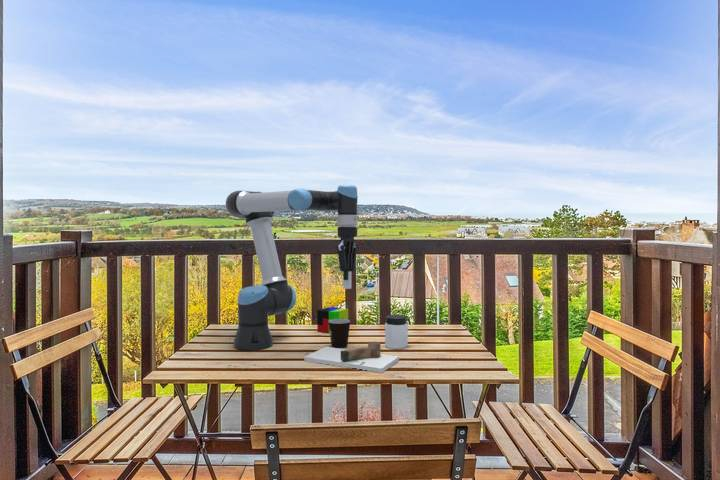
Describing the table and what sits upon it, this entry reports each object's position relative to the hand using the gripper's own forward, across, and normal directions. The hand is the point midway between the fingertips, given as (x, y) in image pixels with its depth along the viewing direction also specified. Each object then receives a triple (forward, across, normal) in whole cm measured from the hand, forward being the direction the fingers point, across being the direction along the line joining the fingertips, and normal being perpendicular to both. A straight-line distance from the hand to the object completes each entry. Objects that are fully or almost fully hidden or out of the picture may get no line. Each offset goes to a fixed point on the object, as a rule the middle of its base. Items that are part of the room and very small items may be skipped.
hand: (347, 288), depth 172 cm
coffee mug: (+25, +7, +7) cm, 26 cm away
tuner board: (+24, -10, -7) cm, 27 cm away
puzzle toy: (+25, +27, +22) cm, 43 cm away
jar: (+24, +15, -14) cm, 32 cm away
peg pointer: (+22, -10, -11) cm, 27 cm away
